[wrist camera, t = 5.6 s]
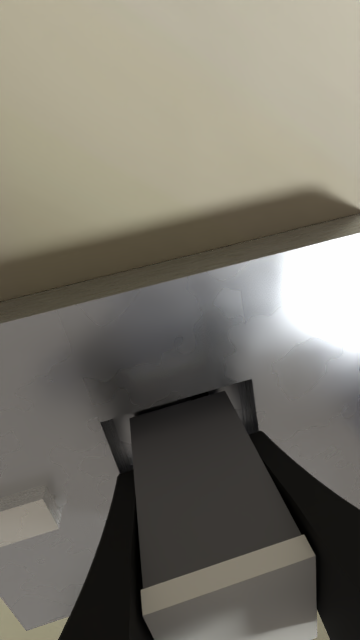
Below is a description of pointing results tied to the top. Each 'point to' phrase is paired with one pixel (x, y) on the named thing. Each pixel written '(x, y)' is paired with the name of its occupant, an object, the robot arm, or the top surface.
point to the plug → (216, 531)
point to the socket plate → (168, 386)
